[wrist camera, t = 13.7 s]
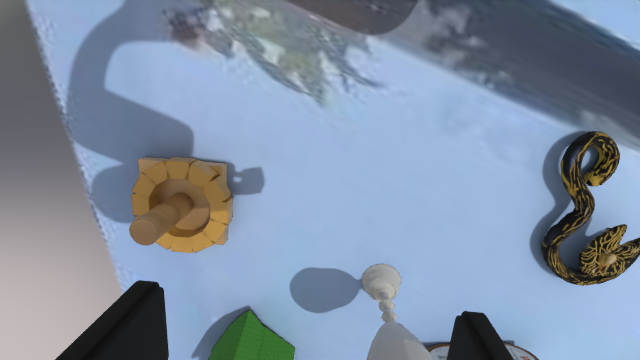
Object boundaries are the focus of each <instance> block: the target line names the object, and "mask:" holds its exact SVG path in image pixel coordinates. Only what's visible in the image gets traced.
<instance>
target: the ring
mask: <svg viewBox="0 0 640 360" xmlns="http://www.w3.org/2000/svg"><path fill="white" fill-rule="evenodd" d="M218 173H219V172H217V171H216V170H214V169H213V168H211V167H210V166H208V165H207V164H205V163H203V162H202V161H200V160H198V161H196V159H193V158H181V157H173V158H169V159H166V160H164V161H162V162H160V163H158V164H156V165H154V166H152V167H150V168H148V169H146V170H144V172H142V173H141V174H140V176H139V178H138V180H137V182H136V184H135V186H134V188H133V189H132V191H133V192H134V193H132V194H131V198H132V209H133V215H138V216H136V217H135V220H136V219H137V218H139V217H140V216H142V215H144V214H145V213H147V212H148V211H150V210H151V209H153V208H154V207H156V206H157V205H159V204H158V191H159V190H160V188H161V186H162V184H163V183H164V181H165V180H168V179H170V178H171V179H182V180H187V181H189V182H191V183H192V184H194V185H195V186H197V187H198V188H200V189H201V190H202V191H203V193H204V195H205V196H206V198H207V200H208V201H209V203H210V220H209V222H208V224H207V225H206V226H205V227H203V228H201V229H198V230H196V231H194V230H184V229H179V228H178V227H176V226H174V227H172V228H171V229H170V230H169V231H168V232H166V233H165V234H164V235H163V236H162V237H161V238H159V239H158V240H157V241H156V243H157V244H159V245H161V246H162V247H164V248H166V249H167V250H169V249H170V248H171V251H175V252H186V253H193V252H195V253H196V252H198V251H200V250H203V249H205V248H207V247H210V246H212V245H214V243H216V242H217V241H218V240H219V238H220V237H221V236H222V234H223V233H224V231H225V230H226V228H227V227H228V225H229V224H230V222H231V221H232V220H231V218H232V217H233V197H229V196H230V195H231V194H232V193H231V192H230V190H229V188H228V186H227V185H226V183H225V181H224V179H223V178H222V176H221V175H219V176H217V175H218ZM216 176H217V177H216Z"/></svg>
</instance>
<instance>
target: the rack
mask: <svg viewBox="0 0 640 360" xmlns="http://www.w3.org/2000/svg"><path fill="white" fill-rule="evenodd" d="M164 160H166V158H154V157H143V158H141V159H138V165H139V176H140V174H141V173H142V172H144V170H146V169H148V168H150V167H152V166H154V165H156V164H158V163H160V162H162V161H164ZM202 162H203V161H202ZM203 163H205V164H207V165H208V166H210V167H211V168H213V169H214V170H216V171H217V172H219V173H218V175H217V176H219V175H221V176H222V178H223V179H224V181H225V183H226V185H227V163H215V162H203ZM217 176H216V177H217ZM158 204H159V205H157V206H156V207H154V208H153V209H151V210H150V211H148V212H147V213H145V214H144V215H142V216H140V217H139V218H137V219H136V220H134V221H133V222H132V223H131V225H130V229H129V231H130V235H131V237H132V238H133V240H134V241H135V242H137V243H139V244H141V245H151V244H153V243H155V242H156V241H157V240H158V239H159V238H161V237H162V236H163V235H164V234H165V233H166V232H168V231H169V230H170V229H171V228H172V227H174V226H176V227H178V228H179V229H184V230H194V231H196V230H198V229H201V228H203V227H205V226H206V225H207V224H208V222H209V220H210V203H209V201H208V200H207V198H206V196H205V195H204V193H203V191H202V190H201V189H200V188H198V187H197V186H195V185H194V184H192V183H191V182H189V181H187V180H182V179H171V178H170V179H168V180H165V181H164V183H163V184H162V186H161V188H160V190H159V191H158ZM227 240H228V227H227V228H226V230H225V231H224V233H223V234H222V236H221V237H220V238H219V240H218V241H217V242H216V243H214V244H221V245H224V244H225V243H226V241H227Z"/></svg>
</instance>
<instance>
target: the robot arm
mask: <svg viewBox="0 0 640 360" xmlns="http://www.w3.org/2000/svg"><path fill="white" fill-rule="evenodd" d="M168 356H169V353H168V339H167V326H166V313H165V299H164V289H163V288H162V287H159V284H158V283H157V282H151V281H141V280H140V281H137V282H135V283H134V284H133V285H132V286H131V287H130V288H129V289H128V290H127V291H126V292H125V293H124V294H123V295H122V296H121V297H120V298H119V299H118V300H117V301H116V302H115V303H113V304H112V306H110V307H109V308H108V309H107V310H106V311H105V312H104V313H103V314H102V315H101V316H100V317H99V318H98V319H97V320H96V321H95V322H94V323H93V324H92V325H91V326H90V327H89V328H88V329H86V331H84V332H83V333H82V334H81V335H80V336H79V337H78V338H77V339H76V340H75V341H74V342H73V343H72V344H71V345H70V346H69V347H68V348H67V349H66V350H65V351H64V352H63V353H62V354H61V355H60V356H58V357H57V358H56V359H55V360H168ZM446 360H514V358H513V357H512V355H511V354H510V352H509V351H508V349H507V348H506V346H505V345H504V343H503V341H502V340H501V338H500V337H499V335H498V334H497V332H496V331H495V329H494V328H493V326H492V324H491V323H490V321H489V320H488V318H487V317H486V315H485V314H483V313H478V312H467V311H464V312H463V313H462V315H461V316H457V317H456V319H455V323H454V328H453V332H452V337H451V341H450V346H449V350H448V355H447V359H446Z"/></svg>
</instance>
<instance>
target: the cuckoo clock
mask: <svg viewBox="0 0 640 360" xmlns="http://www.w3.org/2000/svg"><path fill="white" fill-rule="evenodd" d="M294 351H295V347H293V346H292V345H290V344H289V343H287V342H286V341H285V340H283V339H282V338H280V337H279V336H278V335H276V334H275V333H273V332H272V331H270V330H269V329H268V328H266V327H264V326H263V325H262V324H261V323H260V322H259V320H258V319H257V317H256V316H255V315H254V314H253V313H252V312H251V311H250V310H249V311H247V312H245V313H244V314H242V315H241V316H239V317H238V318H237V319H236V320H235V321H234V322H233V323H232V324H231V325H229V327H228V328H227V330H226V331H225V332H224V334H223V335H222V337H221V338H220V339H219V341H218V342H217V343H216V345H215V346H214V347H213V349H212V351H211V354H210V357H209V359H208V360H293V359H294Z"/></svg>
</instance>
